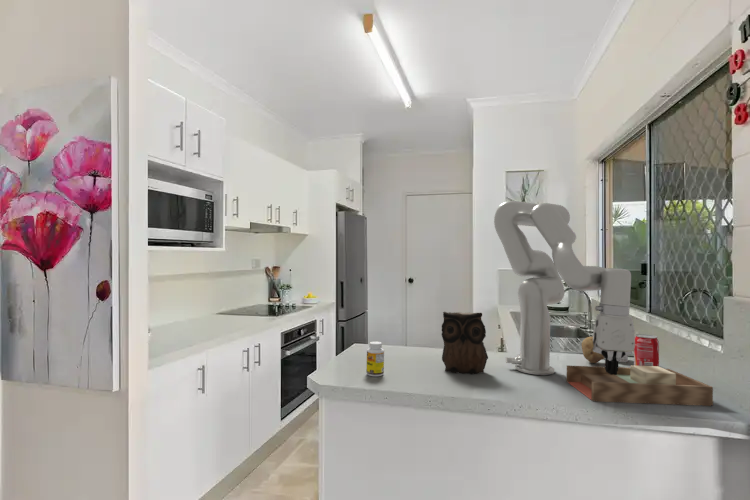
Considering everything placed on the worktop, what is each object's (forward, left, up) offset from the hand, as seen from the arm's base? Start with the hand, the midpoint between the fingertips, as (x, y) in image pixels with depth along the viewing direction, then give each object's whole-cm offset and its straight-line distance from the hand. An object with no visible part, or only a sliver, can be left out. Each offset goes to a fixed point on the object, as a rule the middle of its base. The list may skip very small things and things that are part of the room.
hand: (611, 373), depth 123 cm
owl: (-39, +18, -5) cm, 44 cm away
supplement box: (+20, +40, -6) cm, 46 cm away
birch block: (+11, -1, -2) cm, 11 cm away
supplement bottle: (-69, +8, -5) cm, 70 cm away
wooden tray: (+6, -1, -5) cm, 8 cm away
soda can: (+22, +20, -5) cm, 30 cm away
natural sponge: (+10, +33, -5) cm, 35 cm away
